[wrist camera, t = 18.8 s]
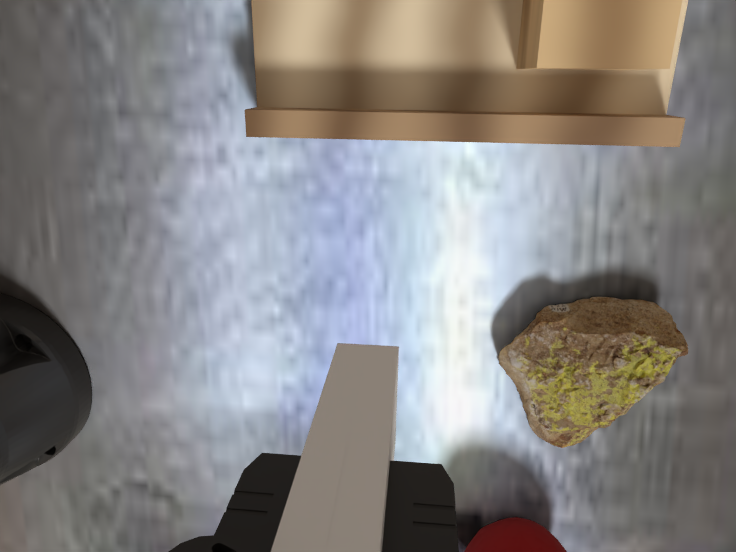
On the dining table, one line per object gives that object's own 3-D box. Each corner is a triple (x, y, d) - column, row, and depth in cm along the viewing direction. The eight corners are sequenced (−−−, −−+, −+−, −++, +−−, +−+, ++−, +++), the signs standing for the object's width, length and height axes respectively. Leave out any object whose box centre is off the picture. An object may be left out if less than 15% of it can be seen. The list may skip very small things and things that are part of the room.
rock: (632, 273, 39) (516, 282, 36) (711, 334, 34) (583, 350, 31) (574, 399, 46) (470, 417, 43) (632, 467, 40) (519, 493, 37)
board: (267, 129, 36) (246, 136, 32) (256, -85, 32) (231, -109, 27) (647, 137, 34) (679, 146, 30) (689, -90, 30) (733, -117, 25)
